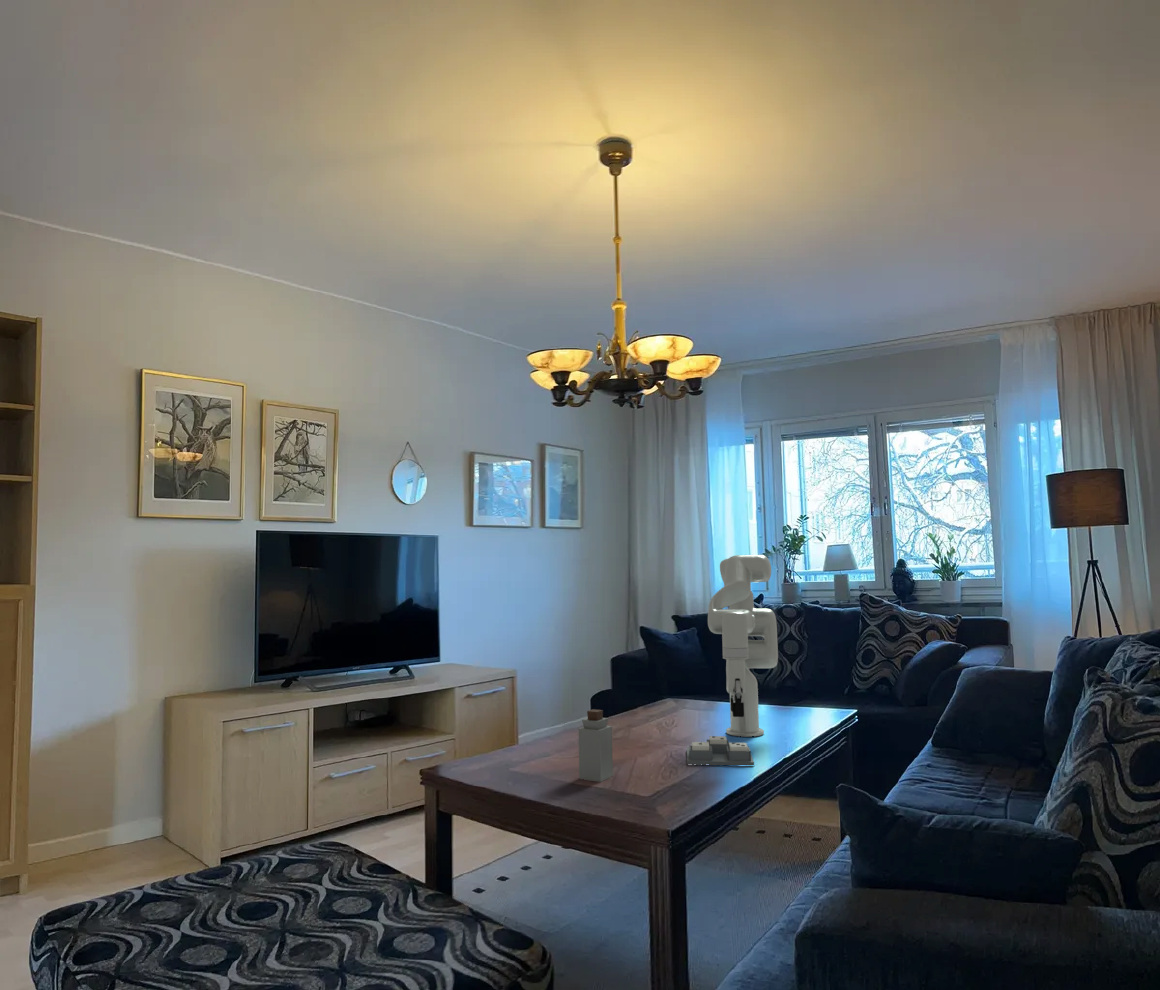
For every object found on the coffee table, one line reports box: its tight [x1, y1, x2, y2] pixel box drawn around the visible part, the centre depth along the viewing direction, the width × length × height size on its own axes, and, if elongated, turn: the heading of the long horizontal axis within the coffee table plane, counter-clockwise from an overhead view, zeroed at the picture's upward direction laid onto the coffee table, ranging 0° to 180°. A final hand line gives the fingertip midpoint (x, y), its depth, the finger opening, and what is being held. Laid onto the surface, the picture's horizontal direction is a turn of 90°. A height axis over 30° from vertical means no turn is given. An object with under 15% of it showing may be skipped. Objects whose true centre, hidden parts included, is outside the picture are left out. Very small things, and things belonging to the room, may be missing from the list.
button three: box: [729, 742, 748, 751], centre depth 232 cm, size 5×5×2 cm
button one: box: [691, 741, 709, 750], centre depth 233 cm, size 5×5×2 cm
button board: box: [686, 739, 755, 766], centre depth 237 cm, size 18×19×4 cm
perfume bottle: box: [578, 708, 614, 783], centre depth 218 cm, size 7×7×18 cm
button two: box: [708, 735, 728, 744], centre depth 241 cm, size 5×5×2 cm
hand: (737, 713), depth 233 cm, fingers open, 7 cm apart
